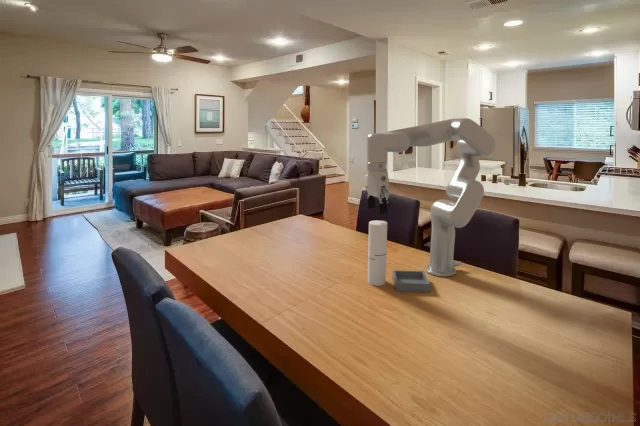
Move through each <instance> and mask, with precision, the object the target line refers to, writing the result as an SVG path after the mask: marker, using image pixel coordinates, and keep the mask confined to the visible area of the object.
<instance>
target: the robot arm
mask: <svg viewBox="0 0 640 426" xmlns="http://www.w3.org/2000/svg"><path fill="white" fill-rule="evenodd" d="M366 141H367V143H366V148H367V149H366V152H367V153H366V154H367V157H366V159H367V161H366V162H367V165H366V169H367V170H366V171H367V178H366V180H367V181H366V186H365V190H366V199H367V204H366V205H367V209H376V198H378V200H379V203H378V214H381V215H383V214H387V213H388V203H389V201H390V200H389V199H390V196H391V193H390V181H389V180H390V179H389V172H388V153H398V154H399V153H403V152H405V151H407V150H408V149H409V148H410V147H411V148H412V147H429V146H436V145H438V144H443V143H448V142H453V141H454V142H455V141H457V142H456V150H457V153H458V159H459V163H458V165H457V168H456V169H455V172H454V173H453V175H452V177H451V179H450V180H449V182H448V183H447V186H446V189H445V193H446V196H447V197H449V198H450V199H452V200H449V199H442V198H441V199H437V200H436V201H434V202H433V203H432V205H431V208H430V211H429V212H430V221H431V235H430V250H429V251H430V253H429V264H427V265H426V266H425V272H427V274H429V275H433V276H436V277H442V278H443V277H447V278H448V277H452V276H455V275H456V273H457V270H456V267H461V266H463V262H462V261H456V260H454V253H455V241H456V240H455V239H456V229H457V228H458V229H461V228H464V227H465V226H467V224H469V223H470V221H471V220H472V218H473V216H474V214H475V213H476V211H477V209H478V207H479V206H480V204H481V202H482V200H483V198H484V194H485V188H484V185H483V183H482V182H480V180H479V181H478V180H477V177H478V176H479V173H480V167H481V164H480V160H479V158H480V157H483V158H484V157H489V156H490V155H492V154H494V153H493V152H495V149H496V140H495V138H494V137H493V135H491V134H490V133H489V132H488V131H487V130H486V129H484V128H483V127H482V126H481V125H480V124H478V123H477V122H476V121H474V120H473V119H470V118H468V117H466V118H465V117H464V118H461V117H459V118H450V119H445V120H440V121H435V122H434V121H433V122H430V123H429V122H428V123H425V124H424V123H423V124H420V125H414V126H411V127H405V128H399V129H394V130H390V131H386V132H382V133H379V132H378V133H376V132H375V133H370V134H368V135H367V138H366ZM453 200H455V201H456V202H455V201H453Z"/></svg>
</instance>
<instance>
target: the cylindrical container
mask: <svg viewBox="0 0 640 426" xmlns="http://www.w3.org/2000/svg"><path fill="white" fill-rule="evenodd" d="M387 239H388V222H387V221H386V220H377V219H376V220H370V221H369V222H368V247H367V249H368V251H367V253H368V256H367V283H368V284H369V285H371V286H375V287H376V286H377V287H379V286H383V285H385V284H386V276H387V274H386V273H387V271H386V270H387V249H388V248H387V245H388V240H387Z"/></svg>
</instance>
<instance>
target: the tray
mask: <svg viewBox="0 0 640 426" xmlns="http://www.w3.org/2000/svg"><path fill="white" fill-rule="evenodd" d="M392 282H393V286H394V289H395V292H400V293H401V292H403V293H404V292H405V293H407V292H408V293H430V290H431V289H430V288H431V283H430V281H429V279H428V277H427V274H426V272H425V271H424V270H401V269H400V270H399V269H397V270H396V269H393V270H392Z"/></svg>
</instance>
